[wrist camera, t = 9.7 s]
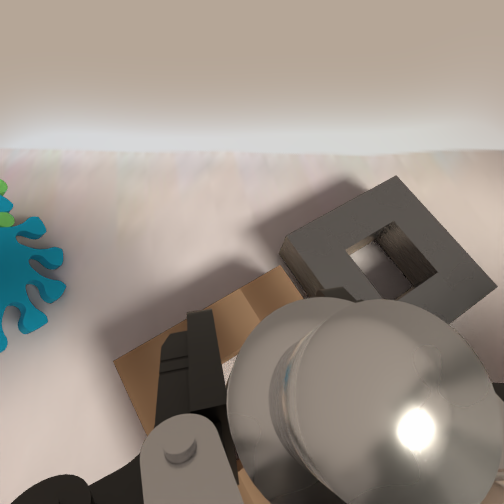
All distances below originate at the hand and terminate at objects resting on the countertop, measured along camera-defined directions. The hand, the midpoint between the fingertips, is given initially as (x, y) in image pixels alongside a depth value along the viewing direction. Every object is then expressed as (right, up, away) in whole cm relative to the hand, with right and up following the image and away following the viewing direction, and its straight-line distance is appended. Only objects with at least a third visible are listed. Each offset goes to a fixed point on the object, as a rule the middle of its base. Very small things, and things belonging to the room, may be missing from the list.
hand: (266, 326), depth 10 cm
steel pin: (0, -4, +4) cm, 6 cm away
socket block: (+8, 0, +15) cm, 17 cm away
